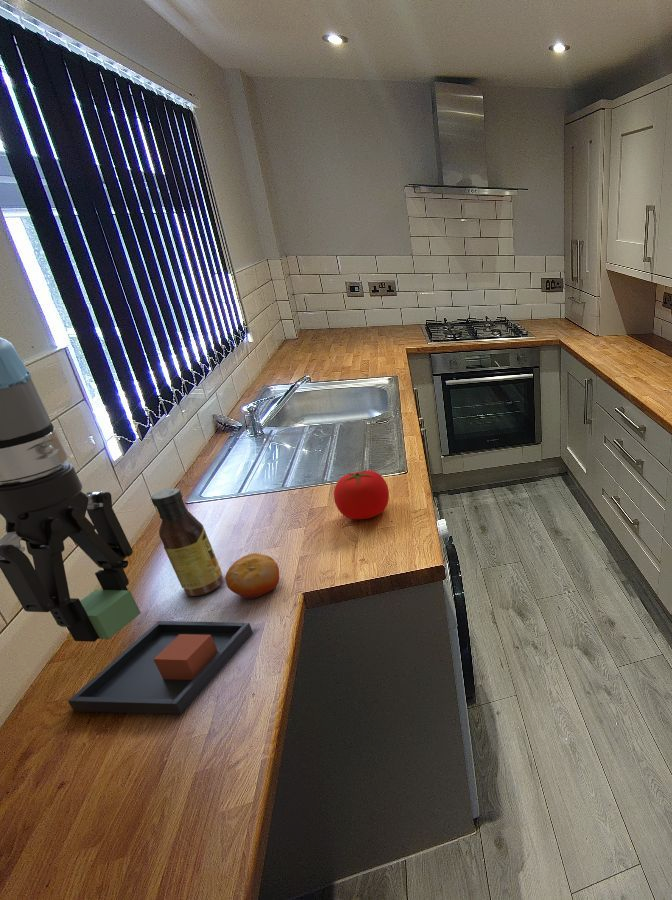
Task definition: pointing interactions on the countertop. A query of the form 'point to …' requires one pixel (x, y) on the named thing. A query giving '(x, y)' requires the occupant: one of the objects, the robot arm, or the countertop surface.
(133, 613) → the green block
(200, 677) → the tray
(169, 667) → the reddish brown block
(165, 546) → the sauce bottle
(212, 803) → the countertop surface
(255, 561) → the fruit
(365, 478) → the tomato
